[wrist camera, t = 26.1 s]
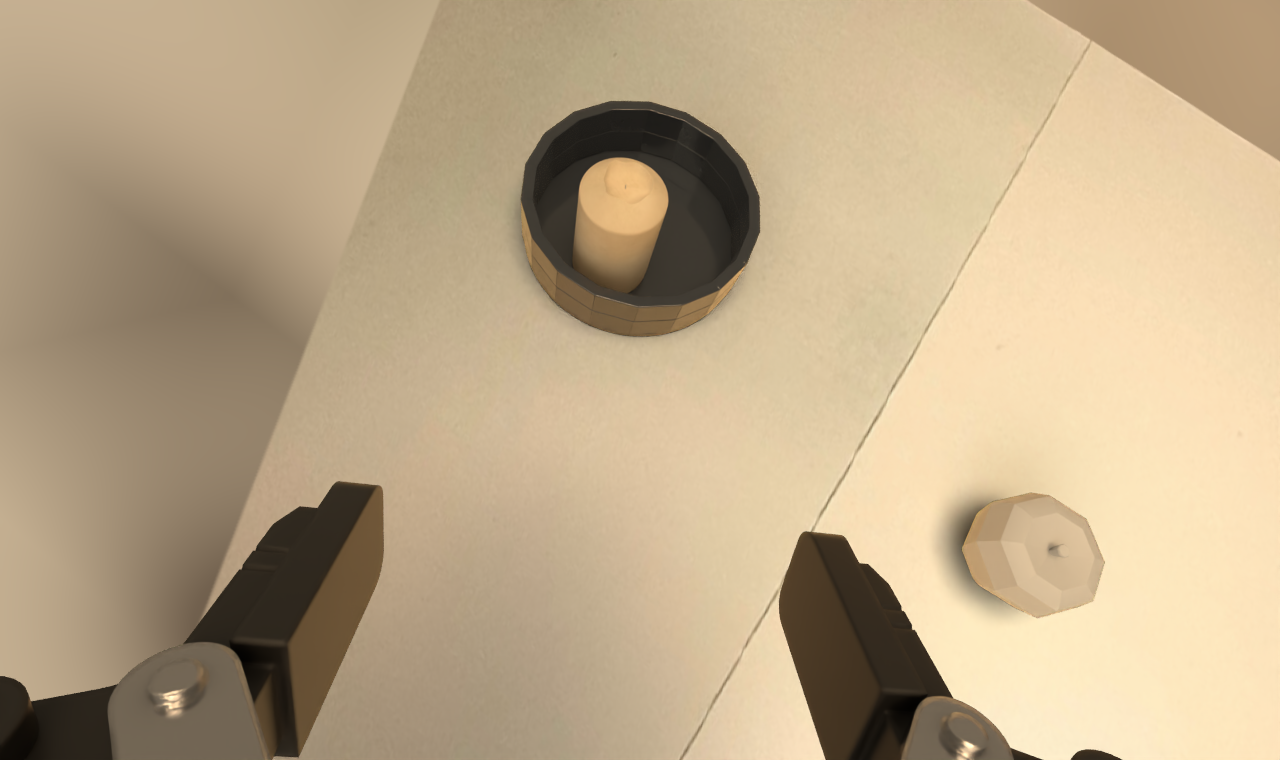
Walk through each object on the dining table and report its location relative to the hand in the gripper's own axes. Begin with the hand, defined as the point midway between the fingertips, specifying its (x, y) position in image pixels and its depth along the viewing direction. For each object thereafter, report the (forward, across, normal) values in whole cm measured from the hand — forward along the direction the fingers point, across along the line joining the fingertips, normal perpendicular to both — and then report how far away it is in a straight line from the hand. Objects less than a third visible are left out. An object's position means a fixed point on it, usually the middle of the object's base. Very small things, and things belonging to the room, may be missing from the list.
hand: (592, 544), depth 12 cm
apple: (+23, -30, +18) cm, 42 cm away
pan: (+38, -3, +2) cm, 38 cm away
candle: (+36, -1, +4) cm, 36 cm away
